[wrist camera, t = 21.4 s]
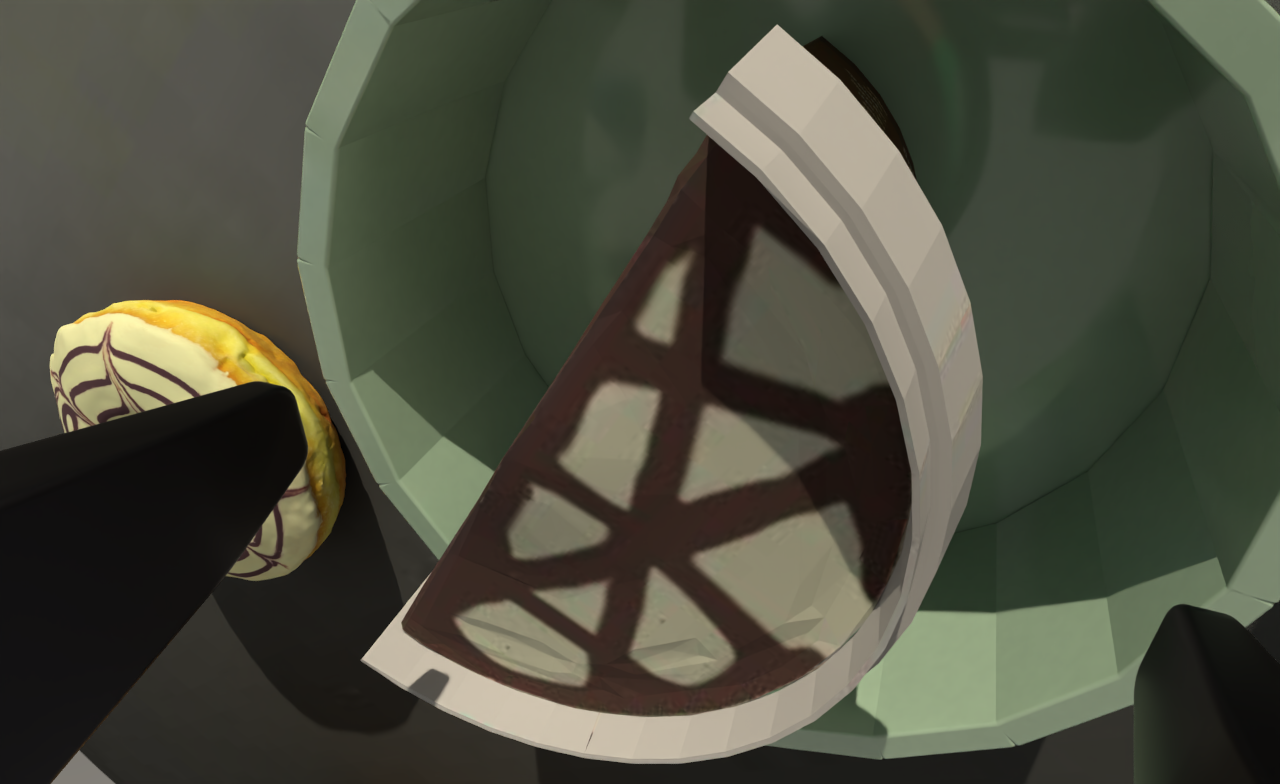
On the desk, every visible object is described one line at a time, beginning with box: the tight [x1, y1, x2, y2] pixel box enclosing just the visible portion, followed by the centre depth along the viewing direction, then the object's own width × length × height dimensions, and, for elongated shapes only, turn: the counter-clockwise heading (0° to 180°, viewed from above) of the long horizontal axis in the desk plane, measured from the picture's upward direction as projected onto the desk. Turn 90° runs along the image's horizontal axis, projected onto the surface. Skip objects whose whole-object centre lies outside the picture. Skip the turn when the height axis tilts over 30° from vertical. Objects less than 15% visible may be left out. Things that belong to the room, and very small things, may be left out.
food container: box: [361, 25, 983, 764], centre depth 15 cm, size 12×6×10 cm, turn 149°
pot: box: [297, 0, 1280, 760], centre depth 16 cm, size 17×17×6 cm
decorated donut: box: [50, 300, 347, 581], centre depth 28 cm, size 10×11×4 cm
